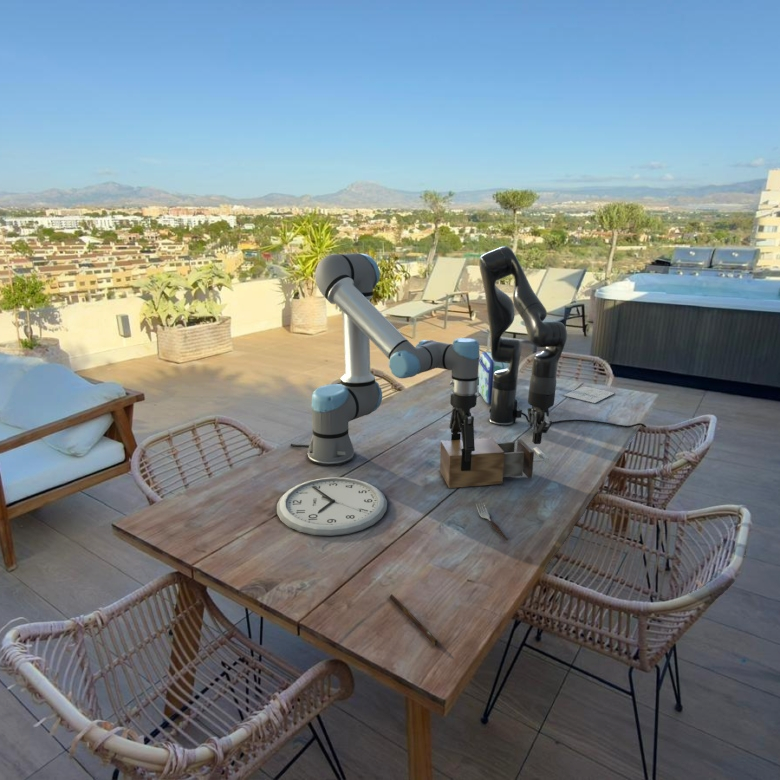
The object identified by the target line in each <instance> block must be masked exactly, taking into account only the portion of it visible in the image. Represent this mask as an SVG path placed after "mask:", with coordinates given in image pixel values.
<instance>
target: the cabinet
mask: <svg viewBox="0 0 780 780" xmlns="http://www.w3.org/2000/svg"><path fill="white" fill-rule="evenodd" d="M497 443H498V442H496V440H495V439H494V438H493V437H480V438H477V437H476V438H474V444H475V451H472V456H471V471H461V459H462V451H461V449H463V442H462V439H460V440H451V439H449V440H440V452H439V453H440V457H439V459H440V460H439V472H440V474H441V477H442V478H443V479H444V481H445V483H446V486H447V487H448V488H449V489H456V488H470V487H481V486H493V485H494V486H495V485H503V481H504V479H503V478H504V477H503V465H504V451H503V450H502V449H501V448H500V446H499V445H498V444H497Z"/></svg>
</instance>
